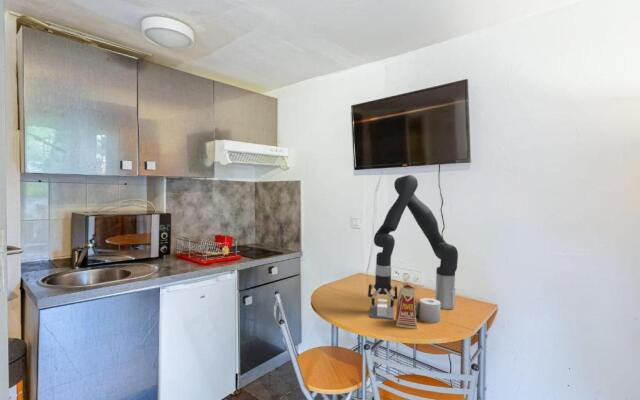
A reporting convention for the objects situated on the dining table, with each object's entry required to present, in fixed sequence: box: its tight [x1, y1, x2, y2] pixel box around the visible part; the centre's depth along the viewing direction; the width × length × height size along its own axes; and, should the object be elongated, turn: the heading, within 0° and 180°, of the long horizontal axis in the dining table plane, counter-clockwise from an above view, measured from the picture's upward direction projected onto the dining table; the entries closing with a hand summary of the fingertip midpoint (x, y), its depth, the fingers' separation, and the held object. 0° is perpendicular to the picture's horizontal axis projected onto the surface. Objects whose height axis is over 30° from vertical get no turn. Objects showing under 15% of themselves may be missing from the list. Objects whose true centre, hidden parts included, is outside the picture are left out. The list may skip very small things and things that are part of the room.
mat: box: [369, 304, 395, 321], centre depth 160 cm, size 15×11×1 cm
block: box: [377, 298, 388, 317], centre depth 159 cm, size 4×4×12 cm
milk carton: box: [395, 280, 418, 330], centre depth 147 cm, size 9×9×20 cm
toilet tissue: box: [415, 297, 442, 324], centre depth 152 cm, size 9×13×9 cm
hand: (382, 306), depth 159 cm, fingers open, 8 cm apart
